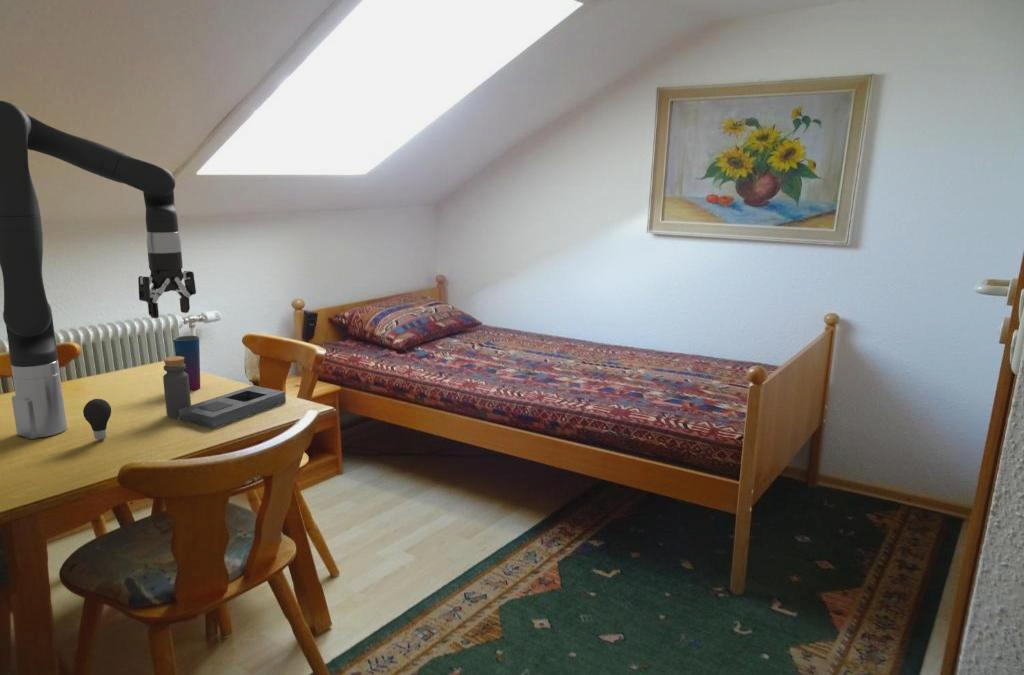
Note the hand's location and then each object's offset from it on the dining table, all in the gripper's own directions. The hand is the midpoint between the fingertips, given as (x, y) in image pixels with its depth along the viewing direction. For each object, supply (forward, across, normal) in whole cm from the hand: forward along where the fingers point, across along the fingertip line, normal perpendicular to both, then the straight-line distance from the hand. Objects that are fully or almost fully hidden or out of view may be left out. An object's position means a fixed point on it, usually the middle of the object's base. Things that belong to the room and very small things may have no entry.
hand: (170, 315), depth 180 cm
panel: (+26, +9, -11) cm, 29 cm away
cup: (+26, +16, +16) cm, 35 cm away
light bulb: (+26, -22, -1) cm, 34 cm away
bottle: (+26, 0, -1) cm, 26 cm away
